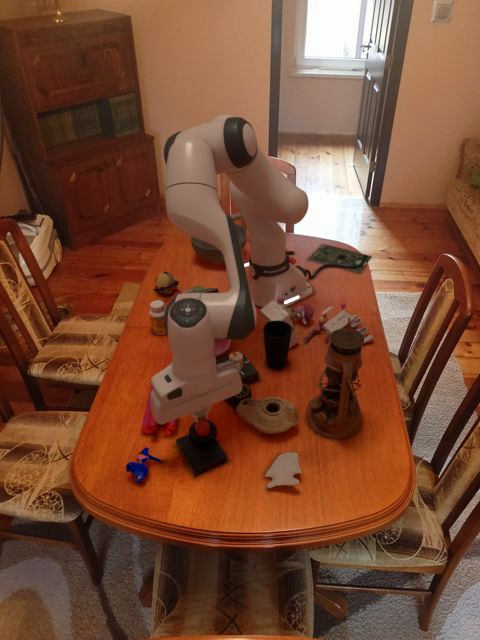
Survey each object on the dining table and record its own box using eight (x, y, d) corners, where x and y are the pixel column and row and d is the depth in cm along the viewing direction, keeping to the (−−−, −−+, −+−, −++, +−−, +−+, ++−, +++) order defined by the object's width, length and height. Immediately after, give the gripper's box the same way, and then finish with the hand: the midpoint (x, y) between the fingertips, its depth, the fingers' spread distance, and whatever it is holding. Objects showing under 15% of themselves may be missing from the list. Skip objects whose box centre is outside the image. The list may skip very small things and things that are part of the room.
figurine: (137, 470, 100) (143, 487, 103) (157, 446, 106) (163, 462, 109) (119, 466, 102) (126, 483, 105) (140, 443, 108) (146, 459, 111)
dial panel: (241, 359, 136) (240, 350, 134) (258, 380, 129) (258, 371, 127) (215, 368, 133) (214, 360, 131) (232, 390, 126) (231, 382, 124)
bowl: (192, 246, 187) (190, 222, 180) (245, 244, 188) (245, 220, 182) (192, 273, 171) (190, 248, 165) (250, 270, 173) (249, 245, 166)
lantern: (303, 394, 125) (311, 296, 106) (353, 393, 125) (370, 296, 106) (310, 445, 112) (320, 345, 93) (366, 444, 112) (387, 344, 93)
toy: (160, 267, 165) (142, 272, 151) (185, 269, 164) (169, 274, 150) (160, 290, 168) (142, 297, 153) (185, 292, 166) (169, 299, 152)
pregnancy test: (351, 320, 146) (353, 317, 146) (332, 336, 138) (334, 333, 137) (333, 304, 148) (335, 301, 147) (312, 319, 139) (314, 316, 139)
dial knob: (245, 367, 128) (245, 356, 126) (233, 372, 127) (232, 361, 125) (239, 360, 131) (238, 349, 128) (227, 364, 130) (226, 353, 127)
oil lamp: (238, 405, 122) (237, 382, 117) (298, 408, 121) (299, 385, 116) (233, 439, 114) (232, 416, 108) (297, 443, 113) (299, 419, 108)
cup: (270, 375, 131) (271, 341, 123) (258, 359, 136) (257, 325, 128) (295, 366, 133) (297, 332, 125) (281, 350, 138) (283, 317, 131)
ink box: (272, 334, 145) (258, 310, 136) (285, 324, 145) (272, 299, 137) (288, 350, 139) (274, 325, 130) (301, 339, 140) (289, 313, 131)
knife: (285, 254, 181) (285, 256, 181) (294, 252, 182) (294, 253, 183) (266, 240, 190) (266, 241, 191) (275, 237, 192) (275, 239, 192)
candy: (345, 349, 139) (347, 332, 135) (317, 347, 140) (318, 330, 136) (344, 313, 153) (347, 297, 149) (319, 311, 153) (320, 295, 150)
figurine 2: (270, 313, 135) (322, 305, 136) (264, 297, 147) (313, 290, 148) (274, 347, 140) (325, 339, 141) (268, 330, 152) (315, 323, 153)
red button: (206, 423, 113) (205, 418, 112) (212, 433, 110) (212, 427, 109) (192, 429, 111) (192, 423, 110) (199, 438, 109) (198, 433, 108)
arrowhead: (260, 483, 102) (269, 451, 110) (263, 491, 103) (271, 458, 111) (298, 481, 100) (303, 448, 108) (300, 489, 101) (306, 456, 109)
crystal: (137, 425, 110) (154, 354, 129) (140, 440, 113) (155, 369, 132) (174, 426, 110) (185, 355, 129) (175, 441, 114) (186, 370, 133)
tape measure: (219, 398, 124) (219, 387, 122) (242, 387, 127) (242, 377, 125) (233, 414, 120) (233, 404, 117) (257, 403, 123) (256, 392, 120)
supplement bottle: (166, 322, 149) (161, 296, 143) (173, 331, 146) (169, 305, 139) (149, 328, 147) (144, 302, 141) (157, 337, 143) (152, 311, 137)
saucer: (212, 331, 145) (211, 322, 143) (240, 350, 139) (239, 341, 137) (178, 349, 139) (177, 341, 137) (206, 370, 132) (205, 361, 130)
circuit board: (359, 273, 172) (359, 271, 171) (308, 259, 179) (308, 258, 179) (372, 257, 181) (372, 255, 180) (322, 244, 188) (323, 243, 188)
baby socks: (357, 311, 148) (359, 317, 149) (341, 319, 148) (343, 325, 150) (374, 336, 139) (376, 342, 141) (357, 345, 139) (360, 350, 141)
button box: (210, 427, 116) (209, 415, 114) (231, 459, 109) (231, 448, 107) (174, 442, 113) (172, 430, 110) (194, 476, 106) (192, 465, 103)
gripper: (233, 348, 106) (235, 393, 114) (143, 380, 98) (152, 426, 106) (247, 365, 101) (248, 410, 110) (154, 400, 93) (163, 446, 102)
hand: (200, 418), depth 108 cm, fingers closed
